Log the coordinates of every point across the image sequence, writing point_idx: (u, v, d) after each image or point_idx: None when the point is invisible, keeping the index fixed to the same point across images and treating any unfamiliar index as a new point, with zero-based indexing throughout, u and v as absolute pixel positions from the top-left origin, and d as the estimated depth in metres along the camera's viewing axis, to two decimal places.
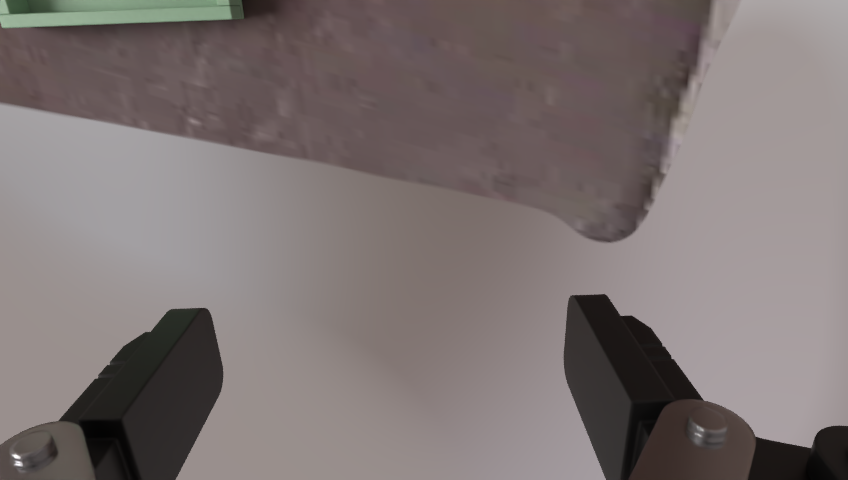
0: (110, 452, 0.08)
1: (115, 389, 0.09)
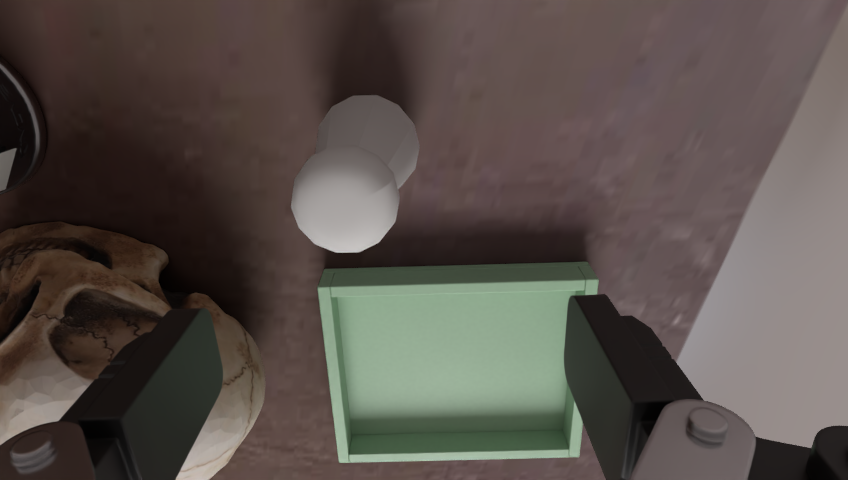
0: (110, 452, 0.08)
1: (115, 389, 0.09)
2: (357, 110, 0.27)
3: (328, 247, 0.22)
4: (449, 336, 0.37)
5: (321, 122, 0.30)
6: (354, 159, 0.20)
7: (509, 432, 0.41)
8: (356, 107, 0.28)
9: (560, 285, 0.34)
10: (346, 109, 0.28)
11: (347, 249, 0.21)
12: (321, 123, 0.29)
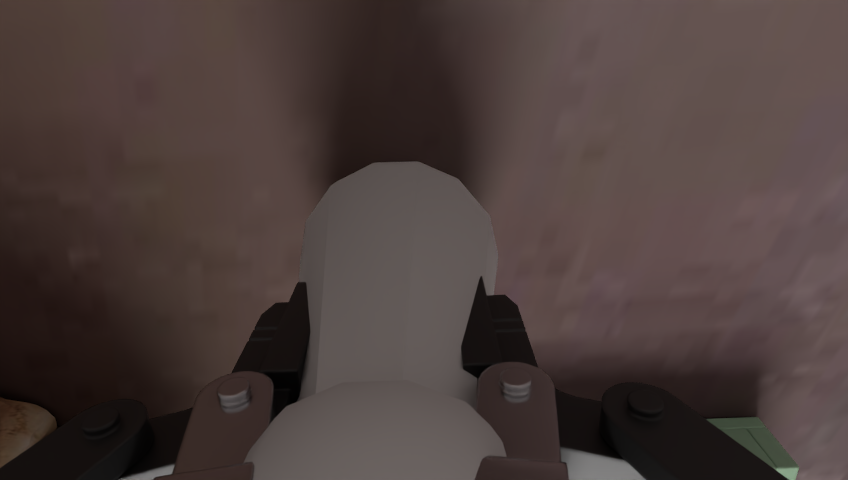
0: (286, 401, 0.09)
1: (280, 347, 0.10)
2: (385, 206, 0.13)
3: None
4: None
5: (310, 215, 0.15)
6: None
7: None
8: (382, 196, 0.13)
9: None
10: (362, 201, 0.13)
11: None
12: (310, 218, 0.15)
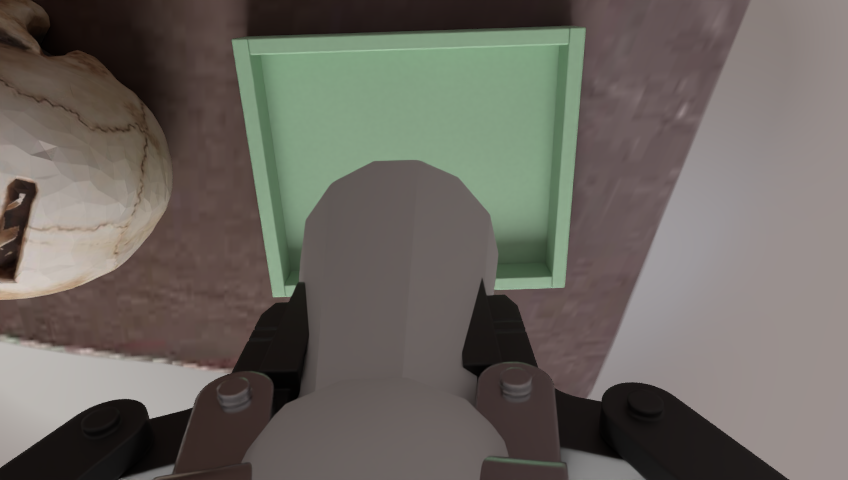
0: (286, 401, 0.09)
1: (280, 347, 0.10)
2: (385, 204, 0.13)
3: None
4: (404, 130, 0.30)
5: (310, 214, 0.15)
6: None
7: None
8: (382, 195, 0.13)
9: (538, 36, 0.27)
10: (362, 199, 0.13)
11: None
12: (310, 217, 0.15)
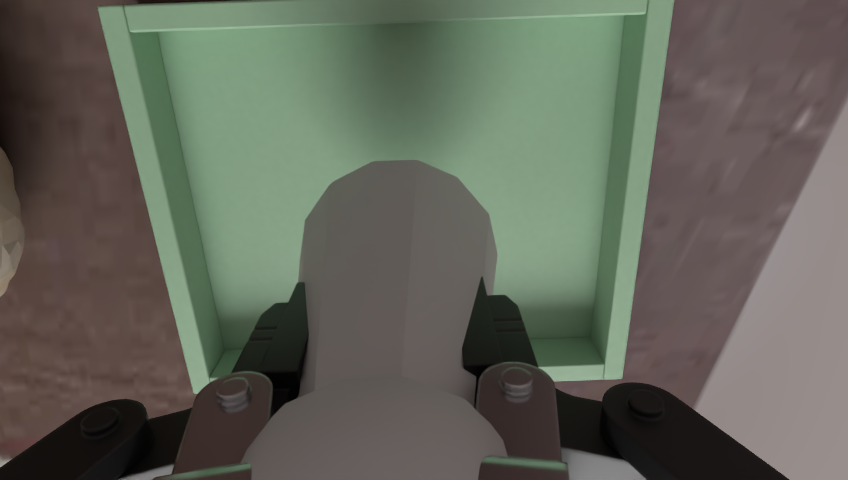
0: (286, 401, 0.09)
1: (280, 347, 0.10)
2: (384, 204, 0.13)
3: None
4: (384, 150, 0.20)
5: (309, 214, 0.15)
6: None
7: None
8: (381, 195, 0.13)
9: (597, 1, 0.16)
10: (361, 200, 0.13)
11: None
12: (309, 217, 0.15)
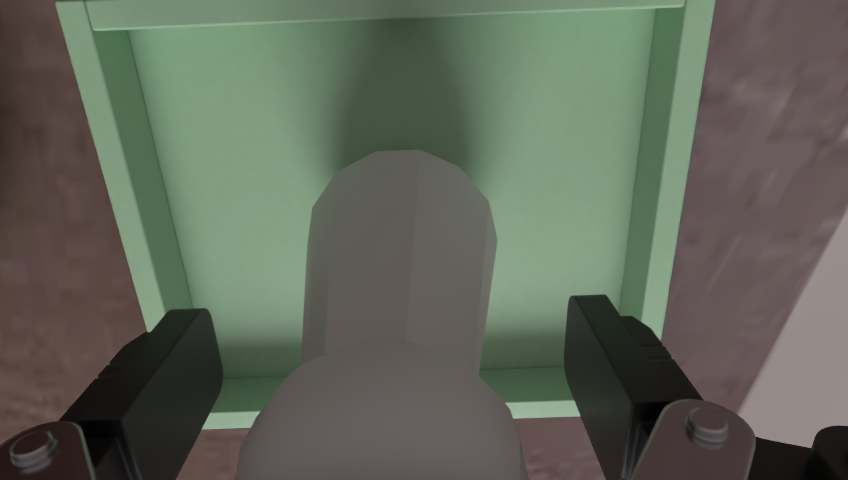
0: (110, 452, 0.08)
1: (115, 389, 0.09)
2: (388, 190, 0.13)
3: None
4: None
5: (316, 202, 0.16)
6: (418, 431, 0.06)
7: (510, 370, 0.21)
8: (385, 182, 0.14)
9: None
10: (366, 186, 0.14)
11: None
12: (316, 204, 0.16)
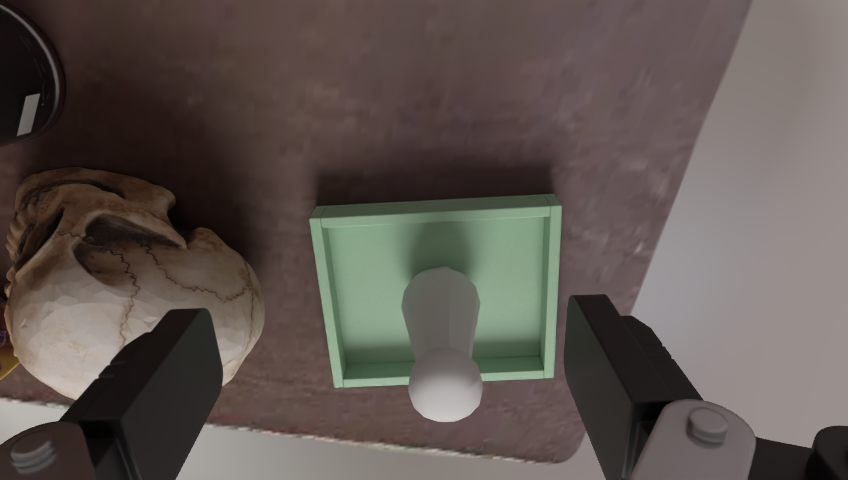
0: (110, 452, 0.08)
1: (115, 389, 0.09)
2: (438, 291, 0.37)
3: None
4: (431, 267, 0.41)
5: (406, 289, 0.39)
6: (455, 367, 0.30)
7: (490, 358, 0.44)
8: (436, 286, 0.37)
9: (527, 212, 0.37)
10: (429, 288, 0.37)
11: (448, 421, 0.31)
12: (406, 291, 0.39)
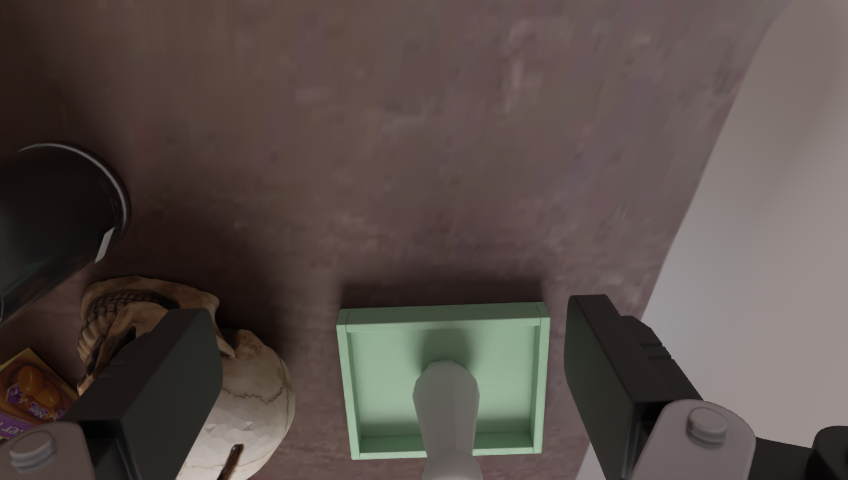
0: (110, 452, 0.08)
1: (115, 389, 0.09)
2: (445, 389, 0.43)
3: None
4: (438, 359, 0.48)
5: (417, 383, 0.46)
6: (461, 470, 0.36)
7: (486, 434, 0.51)
8: (443, 385, 0.44)
9: (521, 322, 0.44)
10: (437, 386, 0.44)
11: None
12: (417, 384, 0.45)
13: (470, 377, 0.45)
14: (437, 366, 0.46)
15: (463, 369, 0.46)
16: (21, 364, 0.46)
